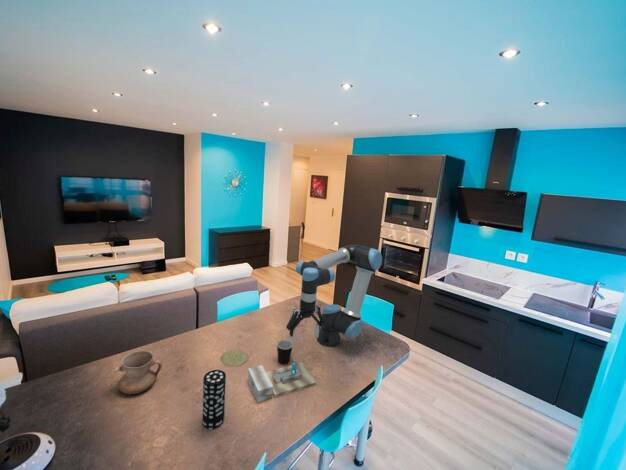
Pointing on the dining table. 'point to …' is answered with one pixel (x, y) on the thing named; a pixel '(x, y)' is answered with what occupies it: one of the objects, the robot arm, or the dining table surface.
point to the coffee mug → (284, 351)
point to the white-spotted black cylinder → (213, 399)
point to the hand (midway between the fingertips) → (304, 338)
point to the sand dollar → (234, 358)
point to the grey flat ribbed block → (268, 388)
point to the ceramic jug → (137, 372)
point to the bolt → (287, 373)
